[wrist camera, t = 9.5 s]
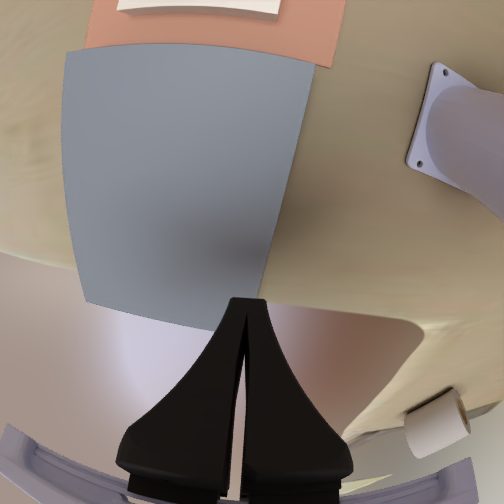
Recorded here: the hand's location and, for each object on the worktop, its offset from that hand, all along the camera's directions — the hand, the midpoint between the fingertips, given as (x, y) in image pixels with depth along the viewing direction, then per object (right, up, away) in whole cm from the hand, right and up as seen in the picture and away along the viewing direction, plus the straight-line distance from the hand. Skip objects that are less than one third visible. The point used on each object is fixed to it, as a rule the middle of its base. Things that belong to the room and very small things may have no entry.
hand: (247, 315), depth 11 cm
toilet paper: (+33, -25, +27) cm, 50 cm away
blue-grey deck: (-5, +7, +7) cm, 11 cm away
